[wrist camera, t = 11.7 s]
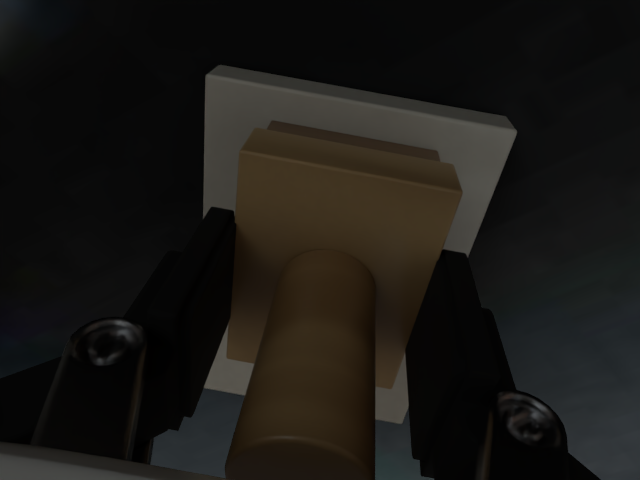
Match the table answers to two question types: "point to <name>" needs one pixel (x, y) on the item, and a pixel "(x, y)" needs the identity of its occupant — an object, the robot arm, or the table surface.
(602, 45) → the table surface
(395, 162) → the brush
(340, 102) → the tile
